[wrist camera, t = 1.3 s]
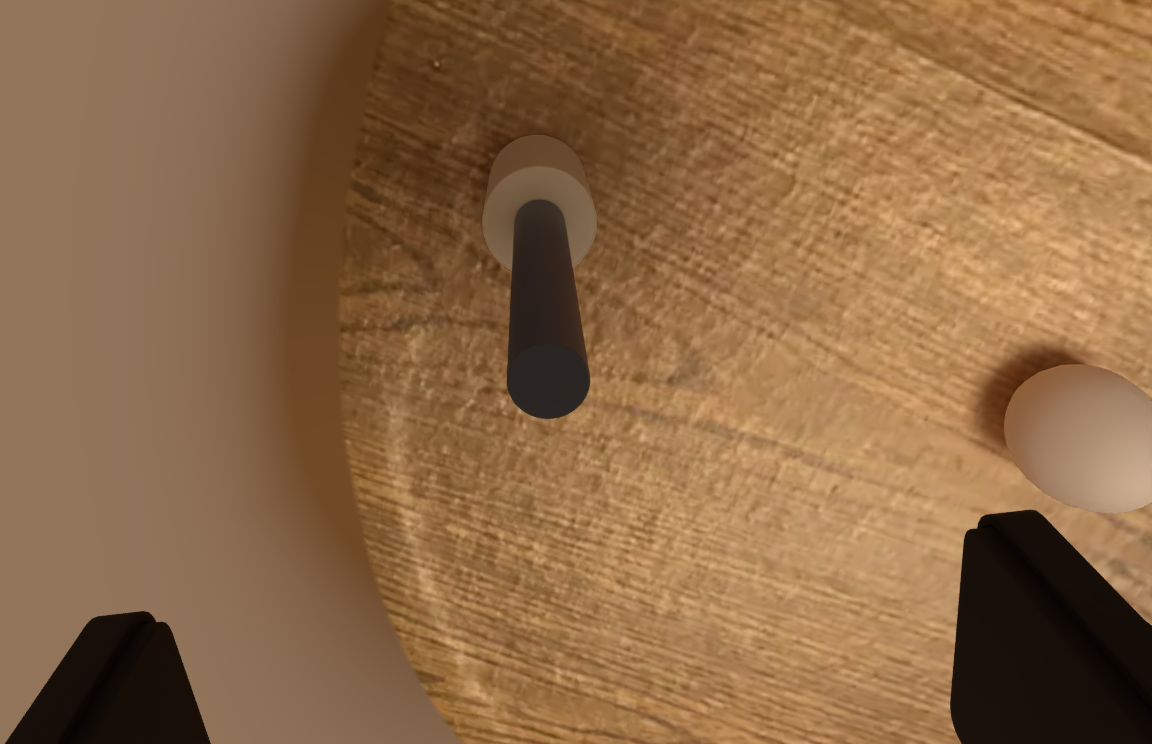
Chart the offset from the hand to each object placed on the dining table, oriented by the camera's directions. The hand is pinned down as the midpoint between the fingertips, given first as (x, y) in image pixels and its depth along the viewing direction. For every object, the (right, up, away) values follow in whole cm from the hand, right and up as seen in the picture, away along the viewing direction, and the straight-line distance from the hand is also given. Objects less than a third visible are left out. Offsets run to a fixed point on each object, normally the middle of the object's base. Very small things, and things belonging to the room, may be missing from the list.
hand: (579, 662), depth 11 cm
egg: (+20, +2, +28) cm, 34 cm away
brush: (-2, +10, +23) cm, 25 cm away
